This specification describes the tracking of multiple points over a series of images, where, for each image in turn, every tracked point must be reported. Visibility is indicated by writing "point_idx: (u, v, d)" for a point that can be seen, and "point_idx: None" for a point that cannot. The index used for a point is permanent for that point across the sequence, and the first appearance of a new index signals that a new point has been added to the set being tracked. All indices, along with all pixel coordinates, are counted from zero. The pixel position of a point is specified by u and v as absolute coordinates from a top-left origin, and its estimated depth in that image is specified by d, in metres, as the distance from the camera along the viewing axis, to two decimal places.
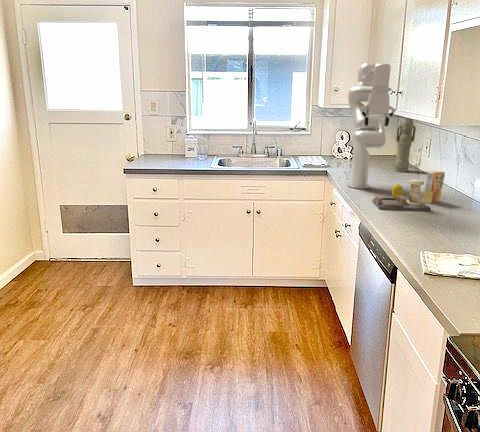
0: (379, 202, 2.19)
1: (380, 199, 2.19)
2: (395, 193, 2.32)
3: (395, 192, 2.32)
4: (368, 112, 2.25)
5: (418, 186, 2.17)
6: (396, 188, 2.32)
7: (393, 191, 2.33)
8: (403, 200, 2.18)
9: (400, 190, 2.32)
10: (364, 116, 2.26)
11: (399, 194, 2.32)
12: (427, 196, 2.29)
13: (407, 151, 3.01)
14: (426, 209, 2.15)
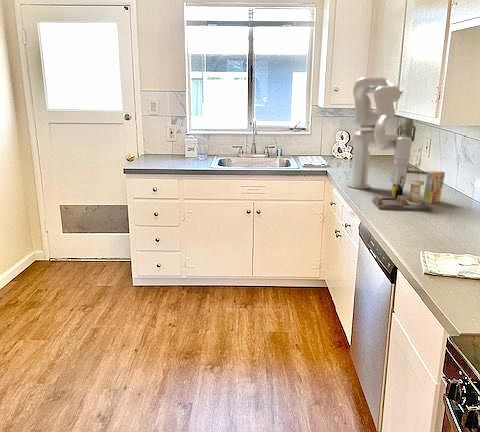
0: (379, 202, 2.19)
1: (380, 199, 2.19)
2: (395, 193, 2.32)
3: (395, 192, 2.32)
4: None
5: (418, 186, 2.17)
6: (396, 188, 2.32)
7: (393, 191, 2.33)
8: (403, 200, 2.18)
9: None
10: (400, 190, 2.29)
11: None
12: (427, 196, 2.29)
13: None
14: (426, 209, 2.15)
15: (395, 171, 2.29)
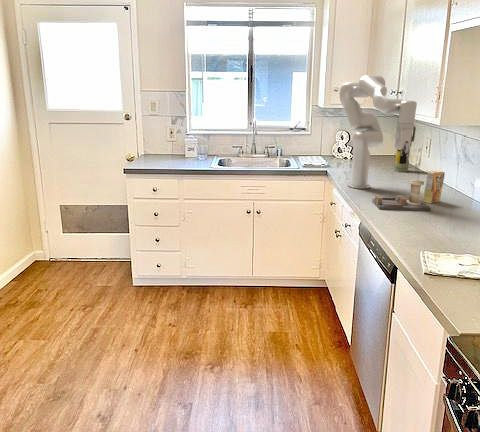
0: (379, 202, 2.19)
1: (380, 199, 2.19)
2: (399, 159, 2.27)
3: (399, 158, 2.27)
4: None
5: (418, 186, 2.17)
6: (400, 154, 2.27)
7: (397, 157, 2.28)
8: (403, 200, 2.18)
9: None
10: (405, 155, 2.24)
11: None
12: (427, 196, 2.29)
13: None
14: (426, 209, 2.15)
15: (399, 136, 2.24)
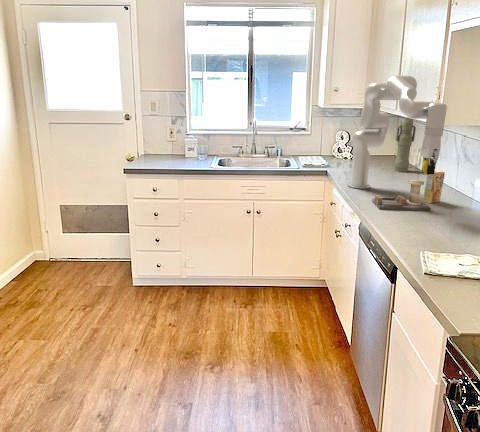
0: (379, 202, 2.19)
1: (380, 199, 2.19)
2: (426, 168, 2.03)
3: (426, 167, 2.02)
4: None
5: (418, 186, 2.17)
6: (428, 163, 2.02)
7: (424, 166, 2.03)
8: (403, 200, 2.18)
9: None
10: (433, 164, 2.00)
11: None
12: (427, 196, 2.29)
13: (407, 151, 3.01)
14: (426, 209, 2.15)
15: (427, 143, 2.00)
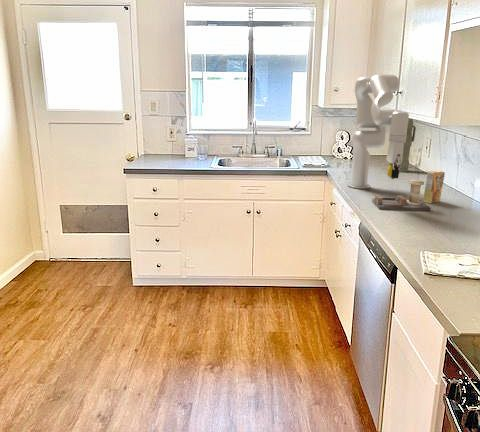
0: (379, 202, 2.19)
1: (380, 199, 2.19)
2: (391, 173, 2.15)
3: (391, 171, 2.15)
4: None
5: (418, 186, 2.17)
6: (392, 167, 2.15)
7: (389, 170, 2.16)
8: (403, 200, 2.18)
9: None
10: (397, 169, 2.12)
11: None
12: (427, 196, 2.29)
13: (407, 151, 3.01)
14: (426, 209, 2.15)
15: (391, 149, 2.12)
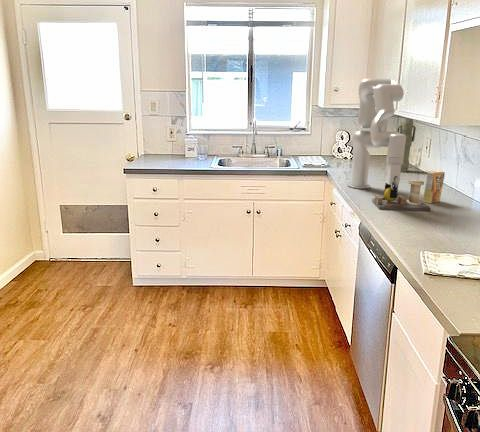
0: (379, 202, 2.19)
1: (380, 199, 2.19)
2: (388, 196, 2.19)
3: (388, 195, 2.19)
4: None
5: (418, 186, 2.17)
6: (389, 191, 2.19)
7: (386, 194, 2.20)
8: (403, 200, 2.18)
9: None
10: (395, 189, 2.13)
11: (392, 198, 2.19)
12: (427, 196, 2.29)
13: (407, 151, 3.01)
14: (426, 209, 2.15)
15: (388, 170, 2.15)
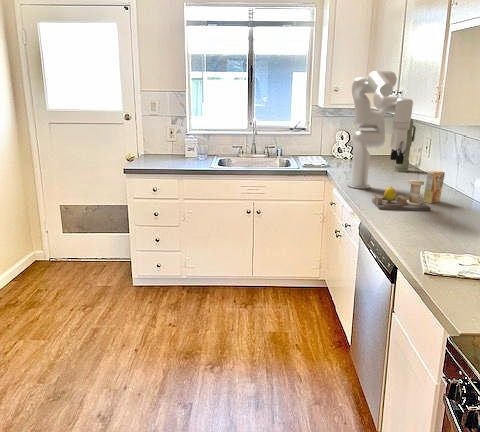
0: (379, 202, 2.19)
1: (380, 199, 2.19)
2: (388, 196, 2.19)
3: (388, 195, 2.19)
4: None
5: (418, 186, 2.17)
6: (389, 191, 2.19)
7: (386, 194, 2.20)
8: (403, 200, 2.18)
9: (393, 193, 2.18)
10: (401, 154, 2.11)
11: (392, 198, 2.19)
12: (427, 196, 2.29)
13: (407, 151, 3.01)
14: (426, 209, 2.15)
15: (395, 136, 2.13)
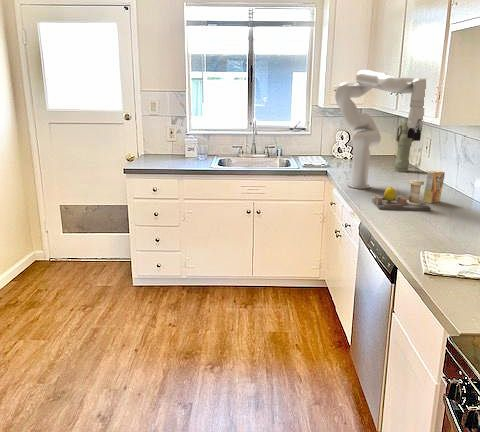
0: (379, 202, 2.19)
1: (380, 199, 2.19)
2: (388, 196, 2.19)
3: (388, 195, 2.19)
4: None
5: (418, 186, 2.17)
6: (389, 191, 2.19)
7: (386, 194, 2.20)
8: (403, 200, 2.18)
9: (393, 193, 2.18)
10: (419, 131, 2.23)
11: (392, 198, 2.19)
12: (427, 196, 2.29)
13: (407, 151, 3.01)
14: (426, 209, 2.15)
15: (412, 114, 2.25)
